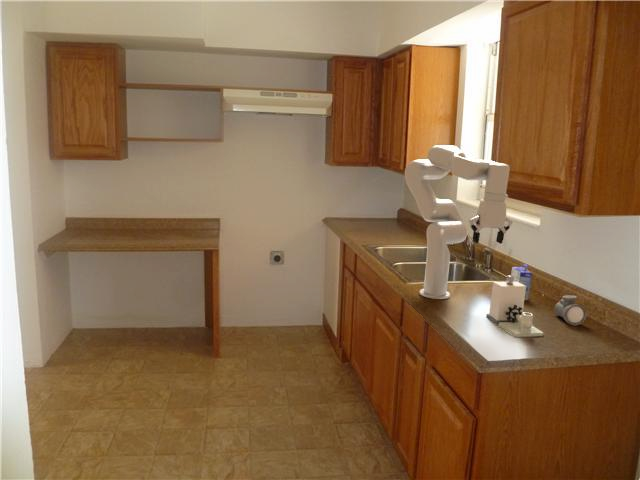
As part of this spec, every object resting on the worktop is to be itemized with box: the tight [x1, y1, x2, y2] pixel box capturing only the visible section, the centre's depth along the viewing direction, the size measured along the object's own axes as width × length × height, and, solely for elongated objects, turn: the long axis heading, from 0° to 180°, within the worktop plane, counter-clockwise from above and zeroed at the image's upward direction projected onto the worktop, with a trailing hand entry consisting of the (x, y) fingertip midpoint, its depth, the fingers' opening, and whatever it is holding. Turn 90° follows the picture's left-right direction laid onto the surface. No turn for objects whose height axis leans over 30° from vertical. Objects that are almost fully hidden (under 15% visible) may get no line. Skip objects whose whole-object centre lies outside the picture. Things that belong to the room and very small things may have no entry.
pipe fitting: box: [553, 294, 587, 327], centre depth 213 cm, size 12×8×10 cm, turn 3°
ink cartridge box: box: [510, 263, 533, 301], centre depth 239 cm, size 10×6×14 cm, turn 2°
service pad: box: [498, 322, 545, 338], centre depth 199 cm, size 11×11×1 cm
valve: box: [505, 305, 534, 334], centre depth 198 cm, size 7×7×12 cm
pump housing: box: [485, 274, 526, 326], centre depth 208 cm, size 8×11×17 cm
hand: (487, 242), depth 208 cm, fingers open, 9 cm apart
